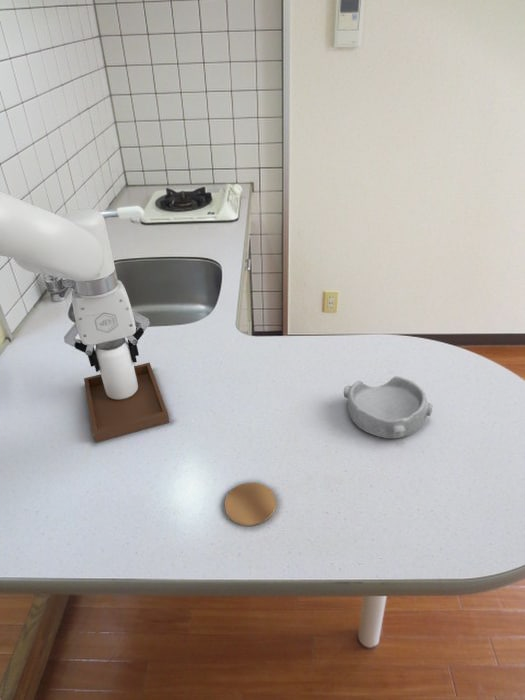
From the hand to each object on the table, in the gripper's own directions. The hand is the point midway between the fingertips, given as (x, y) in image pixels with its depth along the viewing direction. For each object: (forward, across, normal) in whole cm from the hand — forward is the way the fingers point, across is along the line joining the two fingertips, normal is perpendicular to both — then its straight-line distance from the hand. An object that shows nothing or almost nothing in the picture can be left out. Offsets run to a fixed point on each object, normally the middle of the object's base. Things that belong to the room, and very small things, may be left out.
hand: (115, 362), depth 103 cm
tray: (+7, 0, -4) cm, 8 cm away
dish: (+8, +45, -28) cm, 53 cm away
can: (+7, 0, 0) cm, 7 cm away
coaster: (+7, +14, -37) cm, 40 cm away
